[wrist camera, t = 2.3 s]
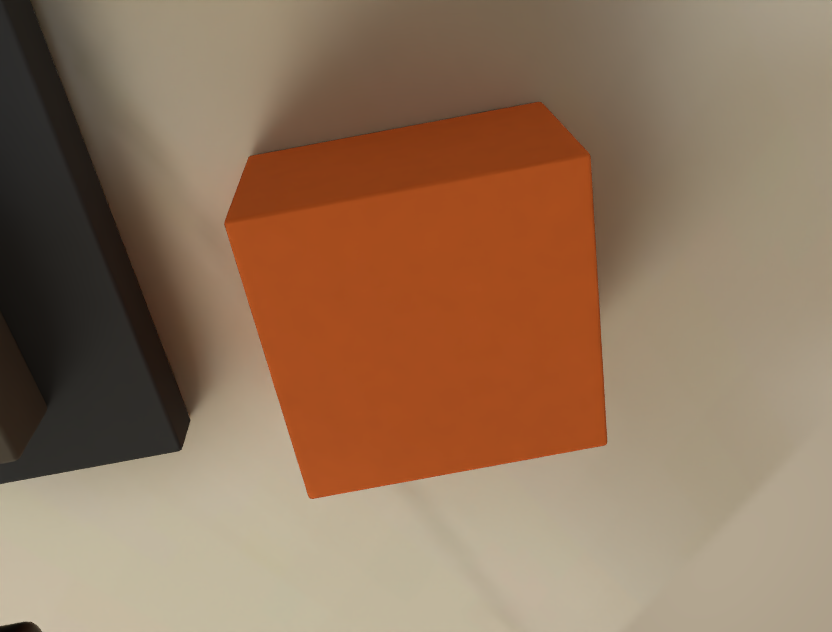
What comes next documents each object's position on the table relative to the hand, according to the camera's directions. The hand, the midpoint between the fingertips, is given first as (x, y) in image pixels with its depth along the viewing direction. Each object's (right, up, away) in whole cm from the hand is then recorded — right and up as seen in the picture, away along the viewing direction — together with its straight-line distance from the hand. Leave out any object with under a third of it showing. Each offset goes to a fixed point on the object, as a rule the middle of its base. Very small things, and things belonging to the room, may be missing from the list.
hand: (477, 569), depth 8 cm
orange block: (-1, +4, +6) cm, 7 cm away
